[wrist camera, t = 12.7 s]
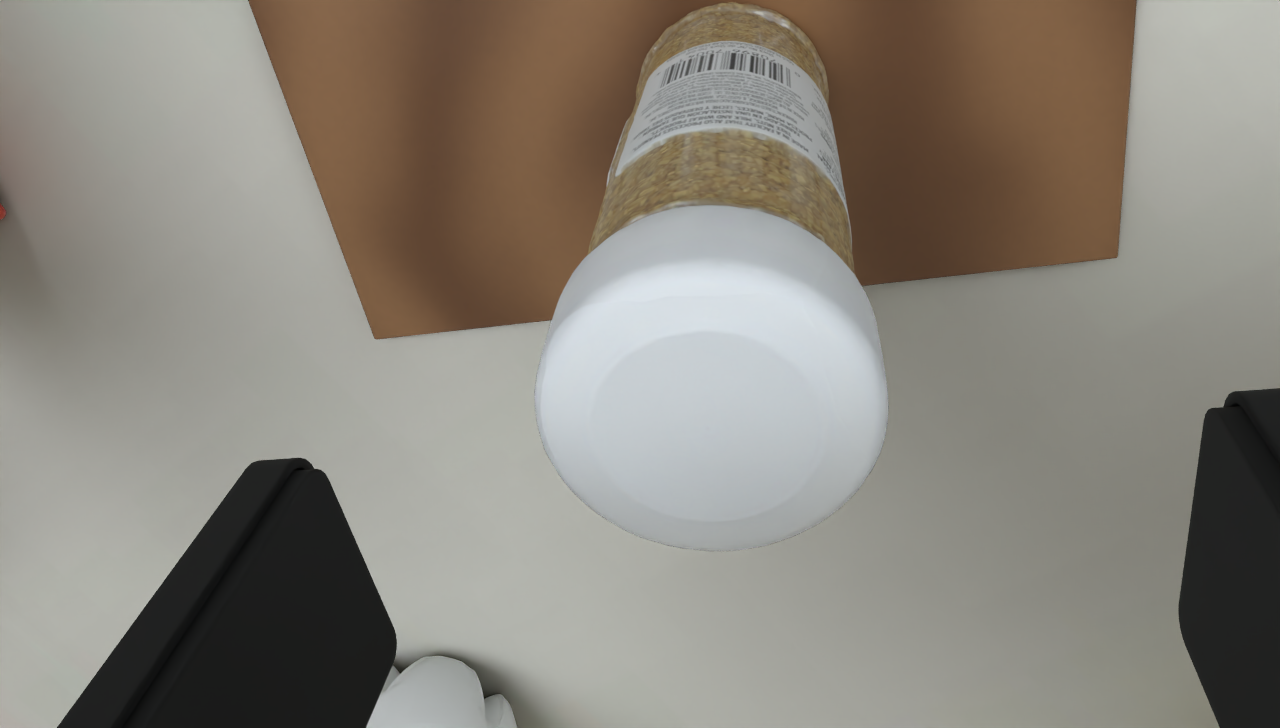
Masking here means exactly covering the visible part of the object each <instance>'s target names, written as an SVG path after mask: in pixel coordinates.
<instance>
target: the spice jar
mask: <svg viewBox="0 0 1280 728" xmlns="http://www.w3.org/2000/svg"><path fill="white" fill-rule="evenodd" d="M636 98H637V99H636V103H635V106H634V109H633V112H632V114H631V116H630V117H629V119H628V120H627V121H626V124H625V126H624V129H623V131H622V134H621V137H620V140H619V143H618V145H617V148H616V152H615V155H614V158H613V161H612V164H611V167H610V170H609V173H608V178H607V188H606V191H605V196H604V199H603V203H602V205H601V207H600V212H599V216H598V220H597V223H596V226H595V229H594V231H593V234H592V238H591V241H590V245H589V251H588V254H587V256H586V257H585V258H584V259H583V260H582V262H581V263H580V264H579V265H578V267H577V268H576V269H575V271H574V272H573V273H572V275H571V277H570V279H569V280H568V282H567V284H566V286H565V288H564V290H563V292H562V294H561V296H560V298H559V301H558V303H557V306H556V309H555V312H554V315H553V318H552V321H551V324H550V327H549V331H548V334H547V337H546V340H545V344H544V347H543V351H542V355H541V359H540V363H539V367H538V372H537V376H536V384H535V392H534V393H535V412H536V420H537V425H538V430H539V434H540V437H541V440H542V443H543V446H544V449H545V451H546V453H547V455H548V457H549V459H550V460H551V462H552V464H553V466H554V467H555V469H556V471H557V472H558V474H559V476H560V477H561V478H562V480H563V481H564V482H565V483H566V485H567V486H568V487H569V488H570V489H571V490H572V492H573V493H574V494H575V495H576V496H577V497H578V498H579V499H581V500H582V501H583V502H584V503H585V504H586V505H587V506H588V507H590V508H591V509H592V510H593V511H595V512H596V513H597V514H599V515H600V516H602V517H603V518H605V519H606V520H608V521H610V522H611V523H613V524H615V525H617V526H618V527H620V528H622V529H624V530H625V531H627V532H630V533H632V534H634V535H637V536H639V537H641V538H644V539H648V540H651V541H654V542H658V543H661V544H665V545H668V546H673V547H678V548H684V549H694V550H703V551H736V550H744V549H751V548H757V547H762V546H767V545H770V544H773V543H776V542H779V541H782V540H785V539H787V538H790V537H793V536H796V535H798V534H800V533H802V532H804V531H806V530H808V529H810V528H812V527H814V526H816V525H817V524H819V523H820V522H822V521H823V520H825V519H826V518H828V517H829V516H830V515H832V514H833V513H834V512H836V511H837V510H838V509H840V508H841V507H842V506H843V505H844V504H845V503H846V502H847V501H848V500H849V499H850V498H851V497H852V496H853V495H854V494H855V493H856V492H857V491H858V490H859V488H860V487H861V485H862V484H863V482H864V481H865V479H866V478H867V477H868V475H869V473H870V472H871V470H872V469H873V467H874V465H875V463H876V461H877V459H878V457H879V454H880V452H881V449H882V446H883V443H884V438H885V434H886V429H887V424H888V409H889V404H888V388H887V381H886V375H885V368H884V361H883V355H882V349H881V344H880V339H879V333H878V328H877V322H876V319H875V315H874V312H873V309H872V306H871V304H870V301H869V299H868V296H867V294H866V293H865V291H864V289H863V288H862V286H861V284H860V283H859V281H858V279H857V278H856V275H855V272H854V262H853V256H852V236H851V226H850V221H849V215H848V209H847V204H846V198H845V192H844V187H843V181H842V174H841V167H840V162H839V156H838V150H837V145H836V139H835V134H834V128H833V124H832V119H831V115H830V112H829V109H828V100H829V89H828V83H827V75H826V71H825V67H824V65H823V63H822V61H821V59H820V57H819V55H818V52H817V50H816V48H815V47H814V45H813V43H812V42H811V41H810V39H809V38H808V37H807V36H806V34H805V33H804V32H803V31H802V30H801V29H800V28H799V27H797V26H796V25H795V24H794V23H793V22H791V21H790V20H789V19H788V18H786V17H784V16H783V15H781V14H779V13H778V12H776V11H773V10H771V9H766V8H762V7H760V6H758V5H754V4H738V3H735V2H728V3H719V4H716V5H713V6H707V7H703V8H700V9H698V10H696V11H693V12H691V13H689V14H687V15H686V16H685V17H683V18H682V19H680V20H679V21H677V22H676V23H675V24H674V25H672V26H670V27H668V28H667V29H666V30H665V31H664V32H663V34H662V35H661V37H660V38H659V39H658V40H657V41H656V42H655V43H654V45H653V46H652V48H651V49H650V51H649V52H648V54H647V56H646V58H645V60H644V62H643V65H642V68H641V73H640V77H639V81H638V84H637V88H636Z"/></svg>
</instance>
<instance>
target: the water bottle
mask: <svg viewBox="0 0 1280 728" xmlns="http://www.w3.org/2000/svg"><path fill="white" fill-rule="evenodd" d="M366 728H517V725H516V721H515V718H514V715H513V711H512V708H511V705H510V704H509V702H508V701H507V700H506V699H505V698H504V697H503V695H501V694H496V695H493V696H490V697H487V698H485V699H484V697H483V692H482V688H481V685H480V681H479V679H478V677H477V674H476V672H475V671H474V670H473V669H471V668H469V667H468V666H467V665H466V664H464V663H463V662H462V661H459V660H456V659H453V658H449V657H444V656H431V657H427V656H426V657H422V658H421V659H419V660H417V661H416V662H414V663H413V664H411V665H410V666H409V667H407V668H406V669H405V670H404V671H403V672H402V673H401V674H400V673H399V672H398V670H397V669H396V668H395V667H394V666H393V665H392V668H391V670H390V672H389V675H388V677H387V679H386V682H385V684H384V686H383V689H382V691H381V693H380V696H379V698H378V701H377V703H376V705H375V708H374V710H373V712H372V715H371V717H370V719H369V722H368V724H367V726H366Z"/></svg>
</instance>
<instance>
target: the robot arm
mask: <svg viewBox="0 0 1280 728" xmlns="http://www.w3.org/2000/svg"><path fill="white" fill-rule="evenodd" d="M1179 622H1180V629H1181V633H1182V637H1183V640H1184V643H1185V646H1186V648H1187V650H1188V653H1189V655H1190V657H1191V660H1192V662H1193V665H1194V667H1195V669H1196V672H1197V674H1198V677H1199V679H1200V681H1201V684H1202V686H1203V688H1204V691H1205V693H1206V696H1207V698H1208V700H1209V703H1210V705H1211V708H1212V710H1213V712H1214V715H1215V717H1216V720H1217V722H1218V724H1219V727H1220V728H1280V388H1277V389H1263V390H1249V391H1235V392H1232V393H1230V394H1229V395H1228V397H1227V398H1226V400H1225V404H1224V407H1221V408H1211V409H1209V410H1208V411H1207V413H1206V414H1205V418H1204V424H1203V431H1202V438H1201V445H1200V453H1199V460H1198V467H1197V475H1196V482H1195V489H1194V497H1193V504H1192V511H1191V519H1190V526H1189V533H1188V541H1187V548H1186V555H1185V562H1184V570H1183V577H1182V584H1181V592H1180V599H1179ZM396 648H397V640H396V633H395V630H394V627H393V625H392V623H391V620H390V618H389V616H388V614H387V611H386V609H385V607H384V604H383V602H382V600H381V598H380V595H379V593H378V591H377V588H376V586H375V584H374V582H373V579H372V577H371V575H370V573H369V570H368V568H367V566H366V563H365V561H364V559H363V557H362V554H361V552H360V550H359V548H358V545H357V543H356V541H355V538H354V536H353V534H352V532H351V529H350V527H349V525H348V522H347V520H346V518H345V516H344V513H343V511H342V509H341V507H340V504H339V502H338V500H337V497H336V495H335V493H334V491H333V488H332V486H331V484H330V481H329V479H328V478H327V476H326V474H325V473H324V472H323V471H322V470H318V469H314V468H313V466H312V464H311V463H310V462H308V461H307V460H306V459H303V458H290V459H276V460H261V461H256V462H253V463H251V464H250V465H249V466H248V467H247V468H246V469H245V471H244V472H243V473H242V475H241V476H240V478H239V479H238V480H237V482H236V483H235V484H234V486H233V487H232V489H231V490H230V491H229V493H228V494H227V495H226V497H225V498H224V500H223V501H222V502H221V504H220V505H219V506H218V508H217V509H216V510H215V512H214V513H213V515H212V516H211V517H210V519H209V520H208V521H207V523H206V524H205V526H204V527H203V528H202V530H201V531H200V532H199V534H198V535H197V537H196V538H195V539H194V541H193V542H192V543H191V545H190V546H189V547H188V549H187V550H186V552H185V553H184V554H183V556H182V557H181V558H180V560H179V561H178V563H177V564H176V565H175V567H174V568H173V569H172V571H171V572H170V574H169V575H168V576H167V578H166V579H165V580H164V582H163V583H162V584H161V586H160V587H159V589H158V590H157V591H156V593H155V594H154V595H153V597H152V598H151V600H150V601H149V602H148V604H147V605H146V606H145V608H144V609H143V611H142V612H141V613H140V615H139V616H138V617H137V619H136V620H135V621H134V623H133V624H132V626H131V627H130V628H129V630H128V631H127V632H126V634H125V635H124V637H123V638H122V639H121V641H120V642H119V643H118V645H117V646H116V648H115V649H114V650H113V652H112V653H111V654H110V656H109V657H108V658H107V660H106V661H105V663H104V664H103V665H102V667H101V668H100V669H99V671H98V672H97V674H96V675H95V676H94V678H93V679H92V680H91V682H90V683H89V685H88V686H87V687H86V689H85V690H84V691H83V693H82V694H81V695H80V697H79V698H78V700H77V701H76V702H75V704H74V705H73V706H72V708H71V709H70V711H69V712H68V713H67V715H66V716H65V717H64V719H63V720H62V722H61V723H60V724H59V726H58V727H57V728H366V726H367V724H368V722H369V719H370V717H371V715H372V712H373V710H374V708H375V705H376V703H377V701H378V698H379V696H380V693H381V691H382V689H383V686H384V684H385V682H386V679H387V677H388V675H389V672H390V670H391V668H392V665H393V663H394V659H395V656H396Z"/></svg>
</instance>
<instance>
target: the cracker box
mask: <svg viewBox="0 0 1280 728" xmlns="http://www.w3.org/2000/svg"><path fill="white" fill-rule="evenodd" d="M5 216H6V210H5V209H4V207H3V206H2V205H1V204H0V220H1V219H3V218H4V217H5Z"/></svg>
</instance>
